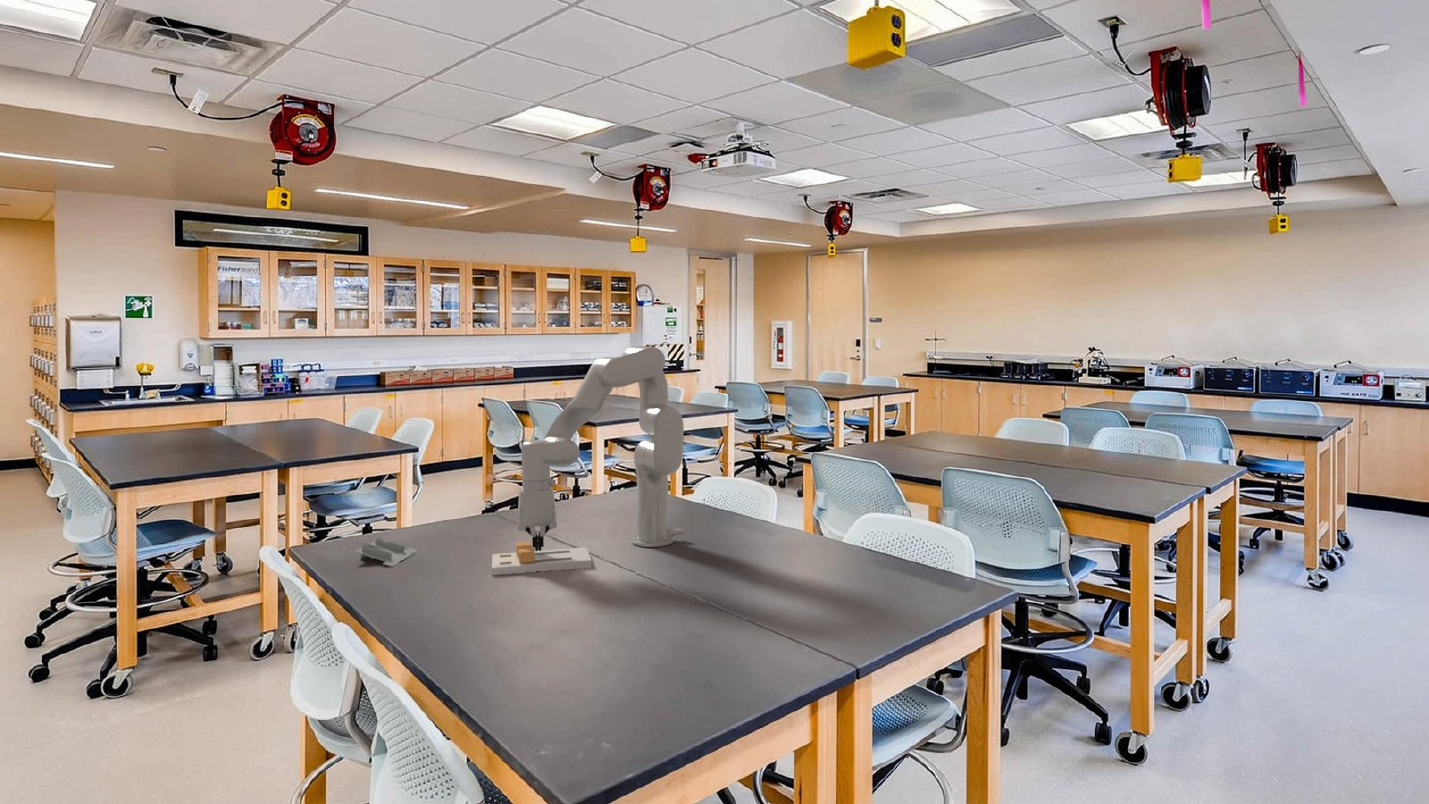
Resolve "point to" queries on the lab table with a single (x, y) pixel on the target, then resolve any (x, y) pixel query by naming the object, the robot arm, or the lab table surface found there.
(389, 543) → the metal bracket
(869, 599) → the lab table surface
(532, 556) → the switch tab
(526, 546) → the switch tab
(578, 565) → the switch panel
